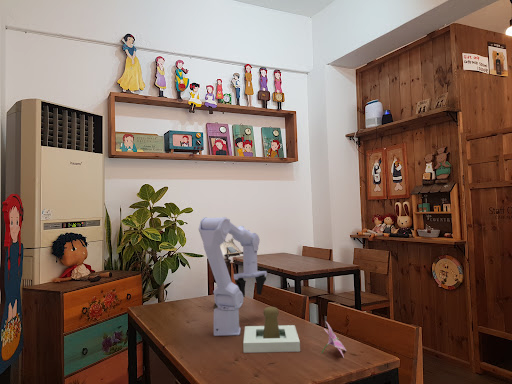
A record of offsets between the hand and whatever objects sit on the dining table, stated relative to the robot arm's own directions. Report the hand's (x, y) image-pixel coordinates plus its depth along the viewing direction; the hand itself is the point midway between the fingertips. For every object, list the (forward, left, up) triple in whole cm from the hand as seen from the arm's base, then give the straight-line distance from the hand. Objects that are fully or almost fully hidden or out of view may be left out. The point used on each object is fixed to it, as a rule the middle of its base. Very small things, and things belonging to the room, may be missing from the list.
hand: (251, 295), depth 157 cm
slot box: (+7, -26, -10) cm, 29 cm away
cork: (+7, -25, -10) cm, 28 cm away
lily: (+26, -38, -11) cm, 47 cm away
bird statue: (-10, +21, -11) cm, 26 cm away
